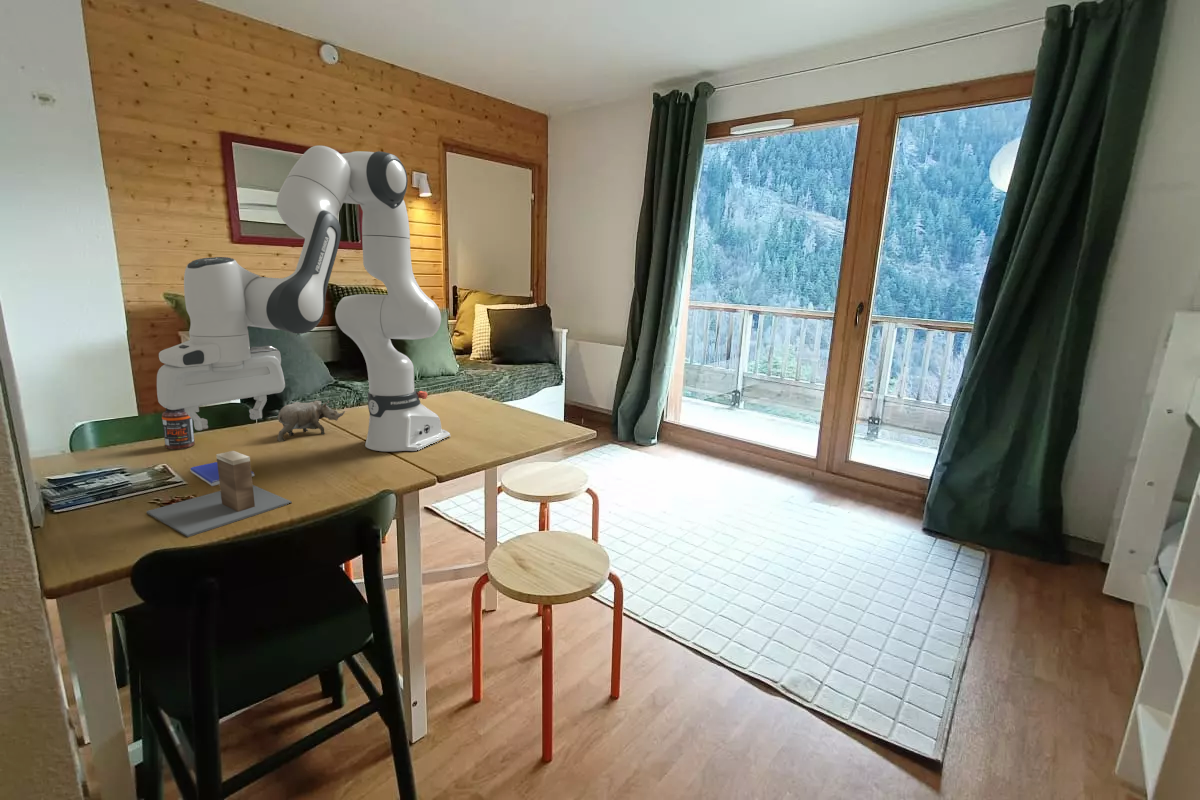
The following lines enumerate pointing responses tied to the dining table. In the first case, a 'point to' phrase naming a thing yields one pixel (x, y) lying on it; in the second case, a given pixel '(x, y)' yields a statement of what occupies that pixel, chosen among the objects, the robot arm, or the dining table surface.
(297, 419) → the rhinoceros figurine
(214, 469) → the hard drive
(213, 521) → the mat
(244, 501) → the block
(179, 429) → the supplement bottle
